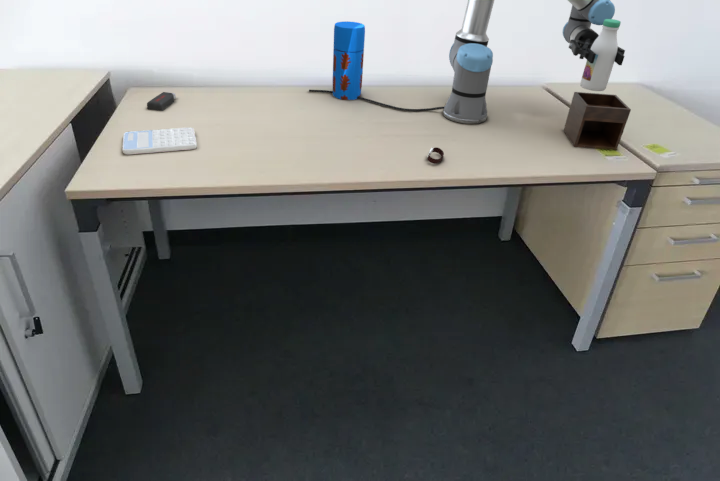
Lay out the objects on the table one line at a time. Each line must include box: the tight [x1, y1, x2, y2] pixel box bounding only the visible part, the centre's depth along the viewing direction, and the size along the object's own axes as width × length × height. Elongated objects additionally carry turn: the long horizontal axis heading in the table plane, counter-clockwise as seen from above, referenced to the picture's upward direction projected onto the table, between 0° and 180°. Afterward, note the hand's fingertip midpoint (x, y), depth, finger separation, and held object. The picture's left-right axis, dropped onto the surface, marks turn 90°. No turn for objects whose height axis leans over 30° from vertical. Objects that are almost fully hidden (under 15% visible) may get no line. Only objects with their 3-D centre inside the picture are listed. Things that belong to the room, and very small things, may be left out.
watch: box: [426, 146, 445, 165], centre depth 155 cm, size 8×5×4 cm, turn 157°
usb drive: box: [146, 91, 177, 112], centre depth 180 cm, size 5×12×3 cm, turn 170°
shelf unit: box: [562, 91, 632, 151], centre depth 172 cm, size 14×14×14 cm
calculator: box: [121, 126, 198, 155], centre depth 155 cm, size 13×20×2 cm, turn 108°
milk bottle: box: [579, 18, 622, 92], centre depth 161 cm, size 8×8×20 cm
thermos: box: [332, 21, 366, 101], centre depth 192 cm, size 11×11×25 cm
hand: (607, 59), depth 157 cm, fingers closed on milk bottle, 8 cm apart
